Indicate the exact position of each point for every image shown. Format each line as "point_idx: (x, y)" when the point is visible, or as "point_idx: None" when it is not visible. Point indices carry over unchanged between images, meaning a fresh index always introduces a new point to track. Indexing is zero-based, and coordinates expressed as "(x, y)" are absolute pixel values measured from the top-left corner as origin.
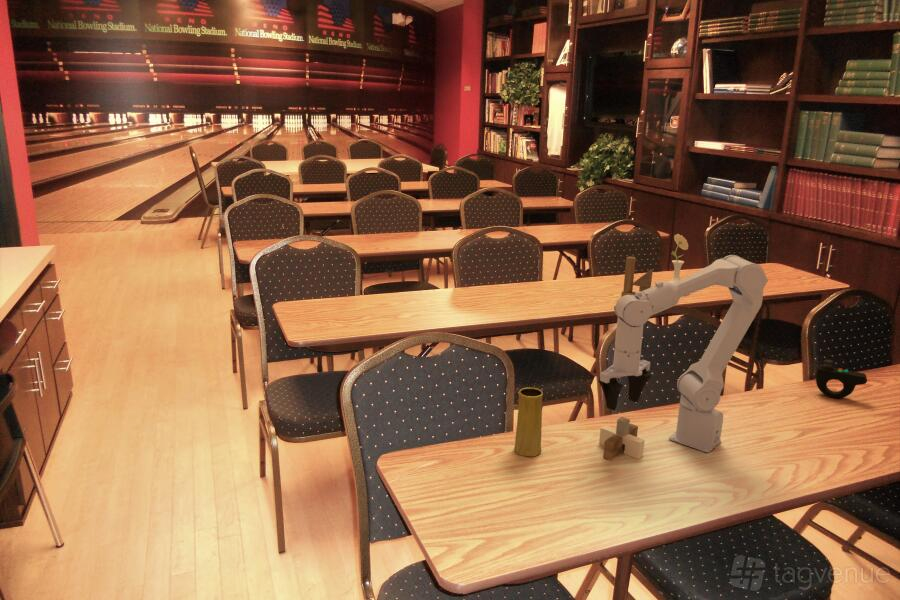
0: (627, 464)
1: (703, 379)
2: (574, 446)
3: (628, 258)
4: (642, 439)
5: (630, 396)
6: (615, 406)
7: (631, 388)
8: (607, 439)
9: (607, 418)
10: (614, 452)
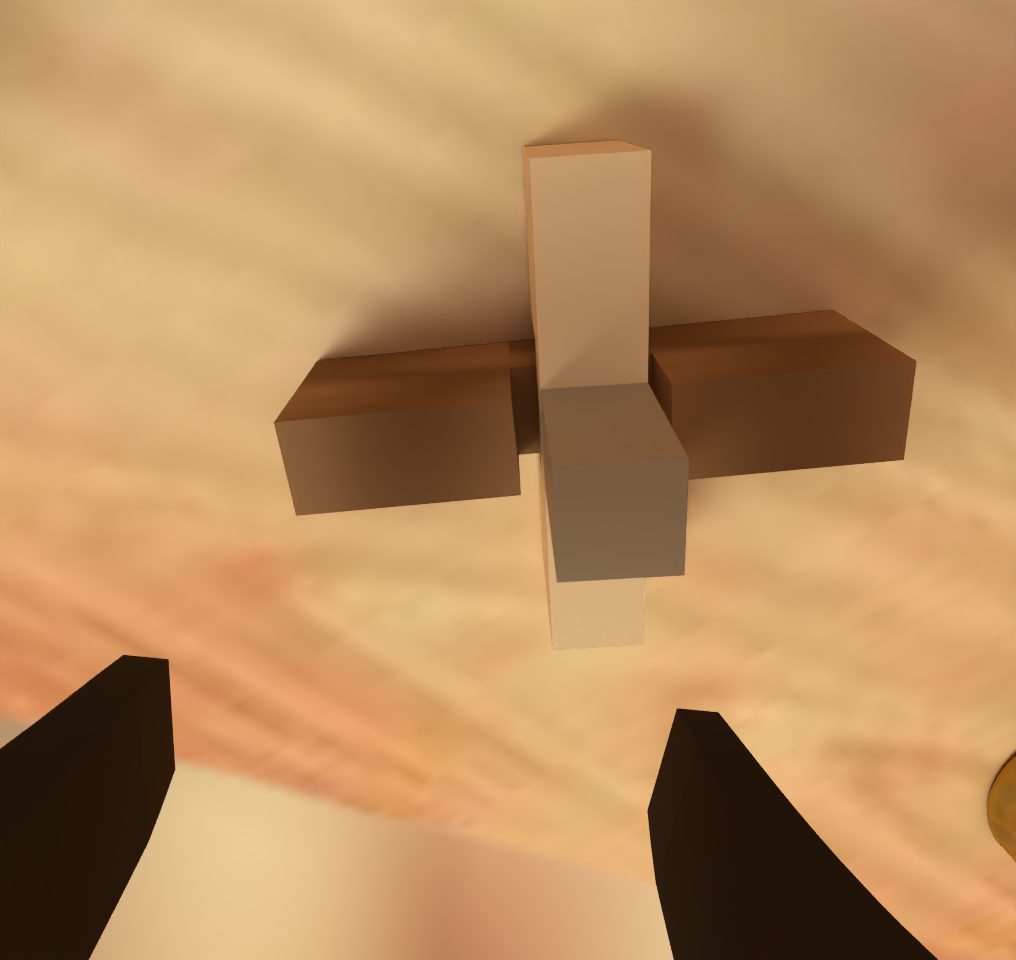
0: (793, 156)
1: None
2: (806, 638)
3: None
4: (538, 185)
5: (151, 804)
6: (731, 749)
7: (63, 947)
8: (844, 461)
9: (182, 737)
10: (802, 331)
